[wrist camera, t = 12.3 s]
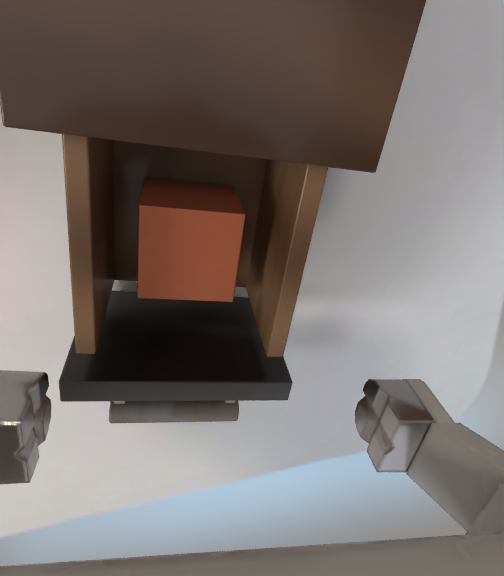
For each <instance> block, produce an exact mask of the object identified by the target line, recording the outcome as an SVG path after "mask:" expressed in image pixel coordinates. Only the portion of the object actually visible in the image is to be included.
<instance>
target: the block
mask: <svg viewBox="0 0 504 576" xmlns="http://www.w3.org/2000/svg"><path fill="white" fill-rule="evenodd" d="M244 222H245V212H244V210H243V208H242V205H241V203H240V201H239V198H238V196H237V194H236V191H235V189H234V187H233V185H226V184H216V183H206V182H196V181H186V180H177V179H167V178H157V177H147V176H146V177H145V180H144V184H143V189H142V194H141V198H140V203H139V226H138V289H137V297H138V298H149V299H174V300H198V301H223V302H233V298H234V291H235V284H236V277H237V270H238V264H239V257H240V250H241V243H242V236H243V229H244Z"/></svg>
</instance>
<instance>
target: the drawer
mask: <svg viewBox="0 0 504 576" xmlns="http://www.w3.org/2000/svg"><path fill="white" fill-rule="evenodd" d="M62 142H63V158H64V174H65V189H66V205H67V221H68V237H69V253H70V269H71V285H72V301H73V316H74V332H75V336H74V339H73V342H72V345H71V348H70V350H69V353H68V356H67V359H66V362H65V365H64V368H63V371H62V374H61V377H60V380H59V389H60V400H61V401H111V402H110V410H109V422H110V423H154V422H213V421H237V419H238V414H239V403H238V400H288V397H289V394H290V390H291V386H292V380H291V377H290V374H289V371H288V368H287V366H286V363H285V360H284V357H283V354H284V350H285V346H286V342H287V337H288V333H289V329H290V325H291V321H292V316H293V312H294V308H295V304H296V300H297V295H298V291H299V287H300V283H301V279H302V274H303V270H304V266H305V262H306V258H307V254H308V249H309V245H310V241H311V237H312V233H313V228H314V224H315V220H316V216H317V212H318V207H319V203H320V199H321V195H322V191H323V186H324V182H325V178H326V174H327V170H328V167H323V166H315V165H307V164H299V163H291V162H283V161H275V160H267V159H259V158H251V157H243V156H235V155H227V154H219V153H211V152H203V151H195V150H187V149H179V148H171V147H163V146H155V145H147V144H139V143H131V142H123V141H115V140H107V139H99V138H91V137H83V136H75V135H67V134H62ZM146 176H147V177H157V178H167V179H177V180H186V181H196V182H206V183H216V184H226V185H233V187H234V189H235V191H236V194H237V196H238V198H239V201H240V203H241V205H242V208H243V210H244V212H245V222H244V229H243V236H242V243H241V250H240V257H239V264H238V270H237V277H236V284H235V286H237V287H246V289H247V293H248V296H249V298H246V297H234V298H233V302H223V301H198V300H174V299H149V298H138V297H137V292H125V291H112V287H113V283H114V280H128V281H138V226H139V203H140V198H141V194H142V189H143V184H144V180H145V177H146Z"/></svg>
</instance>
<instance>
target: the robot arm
mask: <svg viewBox="0 0 504 576" xmlns="http://www.w3.org/2000/svg"><path fill="white" fill-rule="evenodd" d="M48 387H49V382H48V375H47V374H46V373H45V372H26V371H2V370H0V484H13V483H30V481H31V478H32V476H33V473H34V470H35V467H36V464H37V461H38V459H39V450H38V445H40V444H41V443H42V442H43V441H45V439H46V435H47V432H48V429H49V424H50V418H51V401H50V399H49V398H48V397H47V396H46V395H45V394H46V392H47V389H48ZM363 392H364V394H365V397H364V398H363V399H361V400H360V401H359V402H358V404H357V407H356V410H355V423H356V428H357V431H358V433H359V435H360V437H361V438H362V439H364V440H365V441H366V442H367V443H369V445H368V448H367V452H368V454H369V457H370V459H371V461H372V463H373V465H374V467H375V469H376V471H377V472H407V475H408V476H409V477H410V478H411V479H412V480H413V481H414V482H416V483H417V484H418V485H419V486H420V487H421V488H422V489H423V490H424V491H425V492H426V493H427V494H428V495H429V496H430V497H431V498H432V499H433V500H434V501H436V502H437V503H438V504H439V505H440V506H441V507H442V508H443V509H444V510H445V511H446V512H447V513H448V514H449V515H450V516H451V517H452V518H454V519H455V520H456V521H457V522H458V523H459V524H460V525H461V526H462V527H463V528H464V529H465V530H466V531H467V533H466V534H465V535H454V536H439V537H425V538H410V539H396V540H381V541H368V542H352V543H337V544H323V545H308V546H294V547H280V548H265V549H249V550H234V551H219V552H204V553H190V554H175V555H159V556H145V557H129V558H114V559H101V560H85V561H70V562H56V563H41V564H26V565H11V566H0V576H504V451H503V450H501V449H500V448H499V447H497V446H495V445H494V444H492V443H491V442H489V441H487V440H486V439H484V438H483V437H481V436H480V435H478V434H476V433H475V432H473V431H472V430H470V429H469V428H467V427H466V426H464V425H462V424H461V423H455V422H454V421H453V420H452V418H451V417H450V416H449V414H448V413H447V412H446V410H445V409H444V408H443V406H442V405H441V404H440V402H439V401H438V400H437V398H436V397H435V396H434V394H433V393H432V392H431V390H430V389H429V387H428V386H427V385H426V383H425V382H423V381H422V380H420V379H402V380H401V379H369V380H368V381H367V382H366V383H365V386H364V388H363Z"/></svg>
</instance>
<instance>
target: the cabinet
mask: <svg viewBox="0 0 504 576" xmlns="http://www.w3.org/2000/svg"><path fill="white" fill-rule="evenodd" d="M425 3H426V0H0V105H1V113H2V121H3V125H4V126H5V127H11V128H19V129H27V130H35V131H43V132H51V133H59V134H67V135H75V136H83V137H91V138H99V139H107V140H115V141H123V142H131V143H139V144H147V145H155V146H163V147H171V148H179V149H187V150H195V151H203V152H211V153H219V154H227V155H235V156H243V157H251V158H259V159H267V160H275V161H283V162H291V163H299V164H307V165H315V166H323V167H331V168H339V169H347V170H355V171H363V172H371V173H374V172H376V169H377V166H378V162H379V159H380V155H381V152H382V149H383V145H384V142H385V138H386V135H387V132H388V128H389V125H390V121H391V118H392V115H393V111H394V108H395V104H396V101H397V98H398V94H399V91H400V87H401V84H402V81H403V77H404V74H405V70H406V67H407V64H408V60H409V57H410V54H411V50H412V47H413V43H414V40H415V37H416V33H417V30H418V26H419V23H420V20H421V16H422V13H423V9H424V6H425Z"/></svg>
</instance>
